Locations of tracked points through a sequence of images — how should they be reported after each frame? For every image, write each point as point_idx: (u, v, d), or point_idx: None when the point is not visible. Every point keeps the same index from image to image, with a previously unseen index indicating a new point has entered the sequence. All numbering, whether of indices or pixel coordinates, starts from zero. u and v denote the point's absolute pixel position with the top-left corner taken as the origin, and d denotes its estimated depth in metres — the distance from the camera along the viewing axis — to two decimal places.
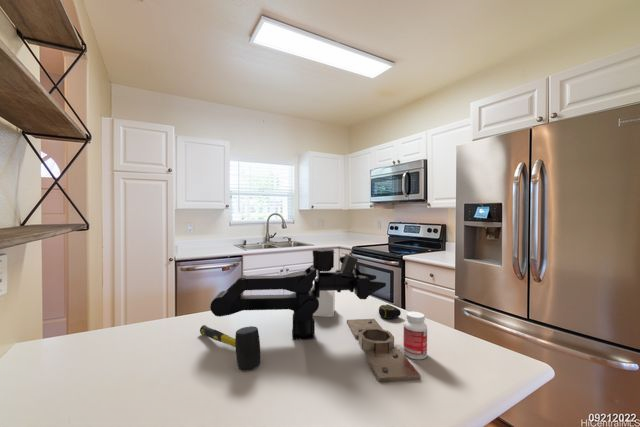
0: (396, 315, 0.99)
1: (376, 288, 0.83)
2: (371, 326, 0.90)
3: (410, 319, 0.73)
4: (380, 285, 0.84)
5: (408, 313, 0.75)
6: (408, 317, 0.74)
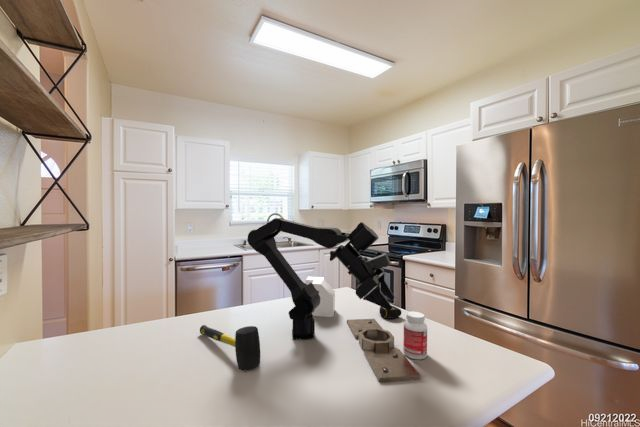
0: (397, 315, 0.99)
1: (379, 302, 0.72)
2: (371, 326, 0.90)
3: (410, 319, 0.73)
4: (385, 304, 0.72)
5: (408, 313, 0.75)
6: (408, 317, 0.74)
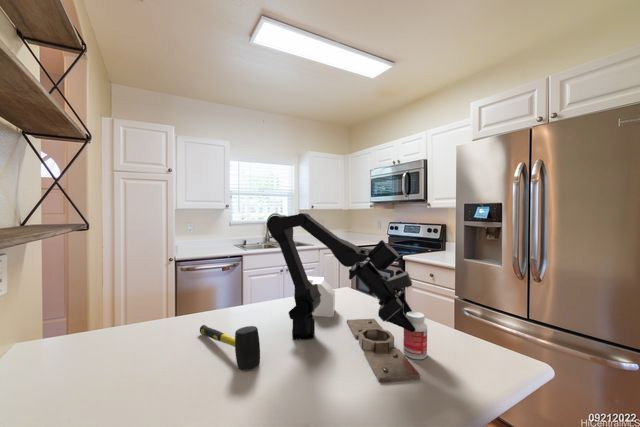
0: None
1: (402, 324, 0.70)
2: (371, 326, 0.90)
3: (410, 319, 0.73)
4: (408, 326, 0.70)
5: (408, 313, 0.75)
6: (408, 317, 0.74)
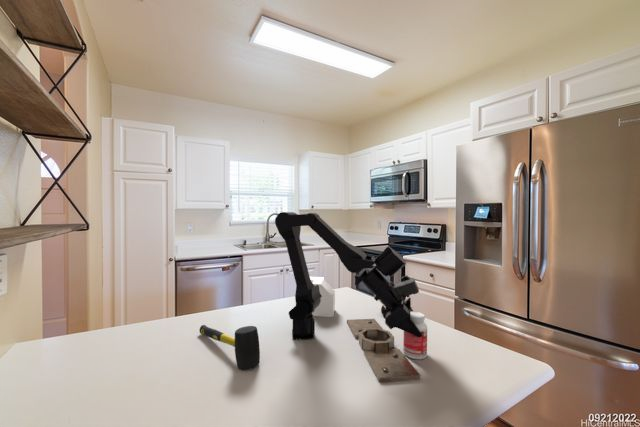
0: None
1: (409, 329, 0.71)
2: (371, 326, 0.90)
3: None
4: (415, 331, 0.71)
5: None
6: None
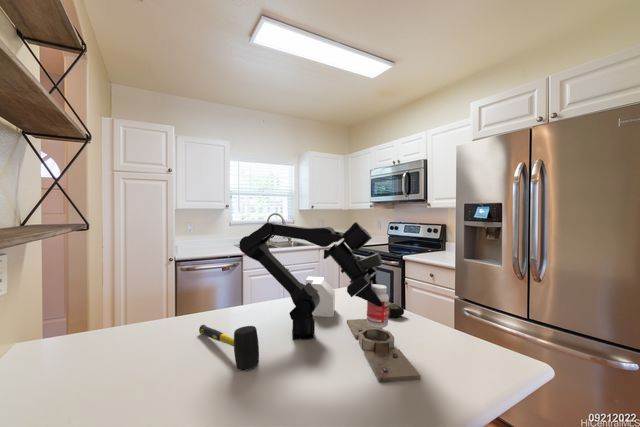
0: (400, 314, 1.00)
1: (370, 299, 0.76)
2: (371, 326, 0.90)
3: None
4: (376, 301, 0.76)
5: (372, 285, 0.80)
6: None
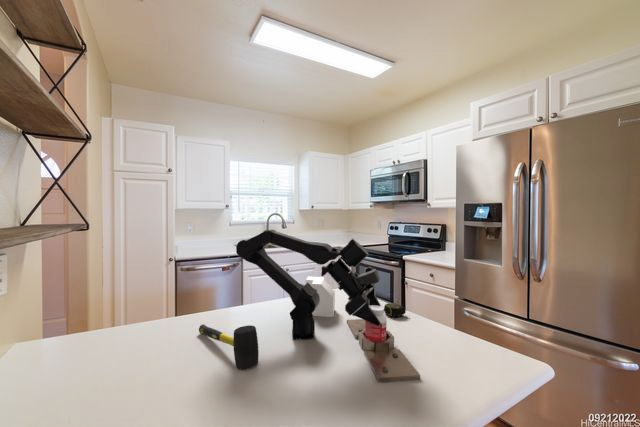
0: (401, 313, 1.01)
1: (368, 318, 0.75)
2: None
3: None
4: (373, 320, 0.75)
5: None
6: None
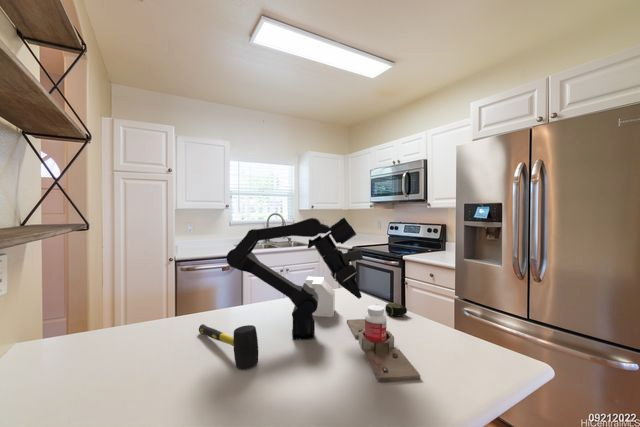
0: (402, 313, 1.02)
1: (352, 290, 0.78)
2: None
3: (370, 312, 0.78)
4: (356, 292, 0.79)
5: (369, 306, 0.80)
6: (368, 310, 0.79)
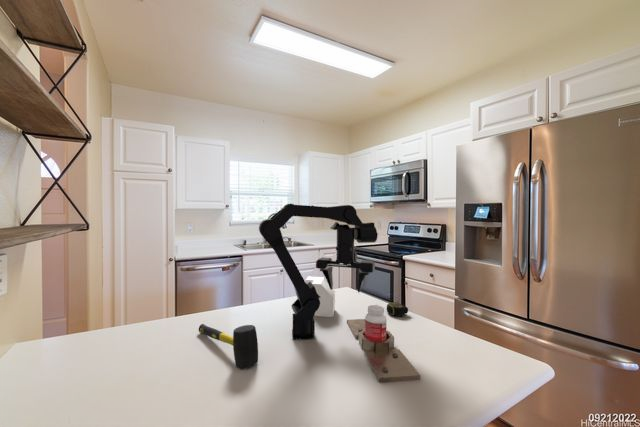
0: (404, 312, 1.02)
1: (362, 282, 0.87)
2: None
3: (370, 312, 0.78)
4: (360, 286, 0.88)
5: (369, 306, 0.80)
6: (368, 310, 0.79)
